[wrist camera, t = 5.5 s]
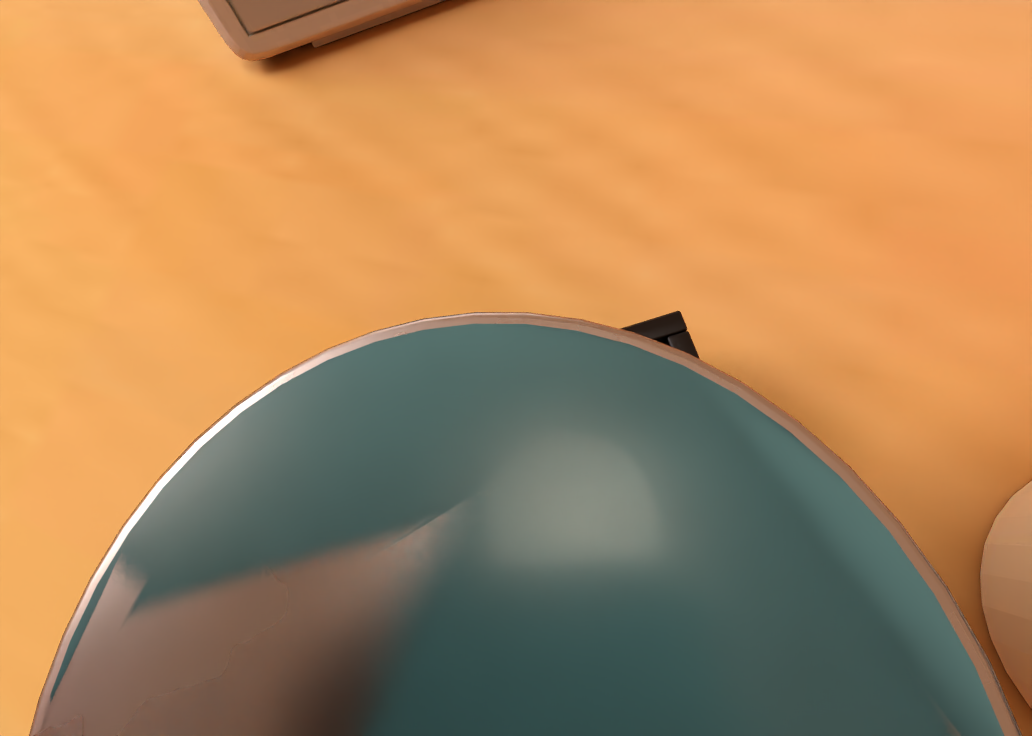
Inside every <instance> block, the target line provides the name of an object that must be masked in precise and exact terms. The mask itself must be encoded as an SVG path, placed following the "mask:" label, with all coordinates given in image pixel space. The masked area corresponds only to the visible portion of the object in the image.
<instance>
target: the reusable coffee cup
mask: <svg viewBox="0 0 1032 736" xmlns="http://www.w3.org/2000/svg"><path fill="white" fill-rule="evenodd" d="M980 582H981V598H982V607H983V611H984V615H985V619H986V622H987V626H988V630H989V634H990V638H991V640H992V642H993V644H994V647H995V649H996V651H997V653H998V655H999V657H1000V660H1001V662H1002V664H1003V666H1004V668H1005V670H1006V672H1007V674H1008V675H1009V677H1010V678H1011V680H1012V681H1013V683H1014V684H1015V686H1016V687H1017V689H1018V690H1019V692H1020V693H1021V695H1022V696H1023V698H1024V699H1025V701H1026V702H1027V704H1028V705H1029V706H1030V707H1031V708H1032V481H1030V482H1029V483H1028V484H1027V485H1025V486H1024V487H1023V488H1022V489H1020V490H1019V491H1018V492H1017V493H1015V494H1014V495H1013V496H1012V497H1011V498H1010V499H1009V501H1008V502H1007V503H1006V505H1005V506H1004V507H1003V509H1002V510H1001V511H1000V513H999V514H998V515H997V517H996V518H995V520H994V523H993V525H992V527H991V530H990V532H989V535H988V537H987V539H986V542H985V545H984V551H983V557H982V563H981V570H980Z"/></svg>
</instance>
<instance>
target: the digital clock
mask: <svg viewBox="0 0 1032 736" xmlns="http://www.w3.org/2000/svg"><path fill="white" fill-rule="evenodd" d="M198 1H199V3H200V5H201V6H202V8H203V9H204V11H205V12H206V14H207V15H208V17H209V19H210V20H211V22H212V23H213V25H214V26H215V28H216V29H217V31H218V32H219V34H220V35H221V37H222V38H223V40H224V41H225V43H226V44H227V45H228V46H229V48H230V49H231V50H232V51H233V52H234V53H235V54H236V55H237V56H239V57H241V58H242V59H245V60H249V61H256V60H262V59H266V58H269V57H272V56H275V55H277V54H280V53H283V52H286V51H288V50H291V49H294V48H297V47H299V46H302V45H305V44H307V43H310V42H311V43H312V44H313V46H314V48H316V47H318V46H321V45H324V44H327V43H329V42H332V41H335V40H338V39H340V38H343V37H346V36H349V35H351V34H354V33H357V32H360V31H362V30H365V29H368V28H371V27H373V26H376V25H379V24H382V23H384V22H387V21H390V20H393V19H395V18H398V17H401V16H404V15H406V14H409V13H412V12H415V11H417V10H420V9H423V8H425V7H428V6H431V5H434V4H436V3H439V2H442V1H445V0H198Z"/></svg>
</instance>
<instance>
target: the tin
mask: <svg viewBox="0 0 1032 736" xmlns="http://www.w3.org/2000/svg"><path fill="white" fill-rule="evenodd" d="M29 736H1022V734H1021V732H1020V729H1019V727H1018V725H1017V722H1016V720H1015V718H1014V715H1013V713H1012V711H1011V709H1010V706H1009V704H1008V702H1007V699H1006V697H1005V695H1004V693H1003V690H1002V688H1001V686H1000V683H999V681H998V679H997V676H996V674H995V672H994V670H993V667H992V665H991V663H990V661H989V659H988V657H987V655H986V654H985V652H984V650H983V648H982V647H981V645H980V643H979V641H978V640H977V638H976V636H975V634H974V633H973V631H972V629H971V627H970V626H969V624H968V622H967V620H966V619H965V617H964V615H963V613H962V612H961V610H960V608H959V606H958V605H957V603H956V601H955V599H954V598H953V596H952V594H951V592H950V591H949V589H948V587H947V586H946V584H945V583H944V582H943V580H942V579H941V577H940V576H939V575H938V573H937V572H936V571H935V569H934V568H933V566H932V565H931V564H930V562H929V561H928V560H927V558H926V557H925V555H924V554H923V553H922V551H921V550H920V548H919V547H918V546H917V544H916V543H915V542H914V540H913V539H912V537H911V536H910V535H909V533H908V532H907V531H906V529H905V528H904V526H903V525H902V524H901V522H900V521H899V520H898V519H897V518H896V517H895V516H894V515H893V514H892V512H891V511H890V510H889V509H888V508H887V507H886V506H885V505H884V504H883V503H882V501H881V500H880V499H879V498H878V497H877V496H876V495H875V494H874V493H873V492H872V490H871V489H870V488H869V487H868V486H867V485H866V484H865V483H864V482H863V481H862V479H861V478H860V477H859V476H858V475H857V474H856V473H855V472H854V471H853V470H852V468H851V467H850V466H849V465H847V464H846V463H845V462H844V461H843V460H842V459H841V458H839V457H838V456H837V455H836V454H835V453H834V452H833V451H831V450H830V449H829V448H828V447H827V446H826V445H825V444H823V443H822V442H821V441H820V440H819V439H818V438H817V437H815V436H814V435H813V434H812V433H811V432H810V431H809V430H808V429H806V428H805V427H804V426H803V425H802V424H801V423H800V422H798V421H797V420H796V419H795V418H793V417H792V416H790V415H789V414H787V413H786V412H785V411H783V410H782V409H780V408H779V407H777V406H776V405H774V404H773V403H772V402H770V401H769V400H767V399H766V398H764V397H763V396H761V395H760V394H759V393H757V392H756V391H754V390H753V389H751V388H750V387H749V386H747V385H746V384H744V383H743V382H741V381H739V380H737V379H735V378H733V377H731V376H730V375H728V374H726V373H724V372H722V371H720V370H718V369H716V368H715V367H713V366H711V365H709V364H707V363H705V362H703V361H701V360H700V359H698V358H696V357H694V356H692V355H690V354H688V353H685V352H683V351H680V350H678V349H675V348H673V347H670V346H667V345H665V344H662V343H660V342H657V341H655V340H652V339H649V338H647V337H644V336H642V335H639V334H637V333H634V332H630V331H626V330H622V329H618V328H614V327H610V326H606V325H602V324H598V323H594V322H590V321H586V320H582V319H576V318H568V317H560V316H552V315H544V314H536V313H528V312H474V313H466V314H458V315H450V316H442V317H434V318H426V319H420V320H416V321H412V322H408V323H405V324H401V325H397V326H393V327H389V328H385V329H381V330H377V331H373V332H370V333H368V334H365V335H363V336H360V337H357V338H355V339H352V340H350V341H347V342H344V343H342V344H339V345H337V346H334V347H331V348H329V349H326V350H324V351H322V352H320V353H319V354H317V355H315V356H313V357H311V358H309V359H307V360H305V361H303V362H301V363H300V364H298V365H296V366H294V367H292V368H290V369H288V370H286V371H284V372H282V373H281V374H279V375H278V376H276V377H275V378H273V379H272V380H270V381H269V382H267V383H266V384H264V385H263V386H262V387H260V388H259V389H257V390H256V391H254V392H253V393H251V394H250V395H248V396H247V397H245V398H244V399H243V400H241V401H240V402H238V403H237V404H236V405H234V406H233V407H232V408H231V409H230V410H229V411H227V412H226V413H225V414H224V415H223V416H222V417H220V418H219V419H218V420H217V421H216V422H215V423H213V424H212V425H211V426H210V427H209V428H208V429H206V430H205V431H204V432H203V433H202V434H201V435H200V436H198V437H197V438H196V439H195V440H194V441H193V442H192V443H191V444H190V445H189V446H188V448H187V449H186V450H185V451H184V452H183V453H182V454H181V455H180V456H179V457H178V458H177V459H176V460H175V461H174V462H173V464H172V465H171V466H170V467H169V468H168V469H167V470H166V471H165V472H164V473H163V474H162V475H161V476H160V477H159V479H158V480H157V481H156V482H155V483H154V485H153V486H152V487H151V489H150V490H149V491H148V493H147V494H146V495H145V497H144V498H143V499H142V501H141V502H140V503H139V505H138V506H137V507H136V509H135V510H134V511H133V512H132V514H131V515H130V516H129V518H128V519H127V520H126V522H125V523H124V524H123V526H122V527H121V529H120V530H119V532H118V534H117V535H116V537H115V539H114V540H113V542H112V544H111V545H110V547H109V548H108V550H107V552H106V553H105V555H104V557H103V558H102V560H101V562H100V563H99V565H98V566H97V568H96V570H95V571H94V573H93V575H92V576H91V578H90V580H89V582H88V584H87V586H86V588H85V590H84V592H83V594H82V596H81V598H80V600H79V603H78V605H77V607H76V609H75V611H74V613H73V615H72V617H71V619H70V621H69V623H68V625H67V627H66V629H65V631H64V633H63V636H62V638H61V641H60V644H59V646H58V649H57V652H56V654H55V657H54V660H53V662H52V665H51V668H50V670H49V673H48V676H47V678H46V681H45V684H44V687H43V689H42V692H41V695H40V697H39V701H38V704H37V708H36V712H35V715H34V719H33V723H32V726H31V730H30V734H29Z"/></svg>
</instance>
